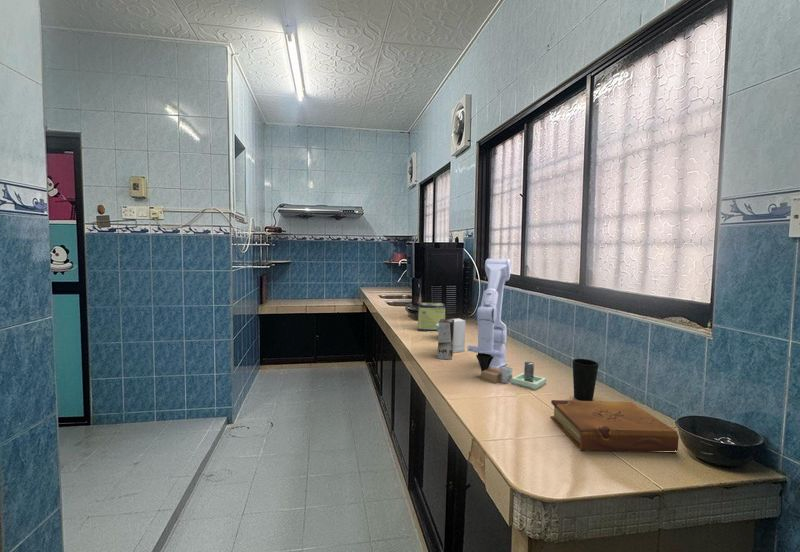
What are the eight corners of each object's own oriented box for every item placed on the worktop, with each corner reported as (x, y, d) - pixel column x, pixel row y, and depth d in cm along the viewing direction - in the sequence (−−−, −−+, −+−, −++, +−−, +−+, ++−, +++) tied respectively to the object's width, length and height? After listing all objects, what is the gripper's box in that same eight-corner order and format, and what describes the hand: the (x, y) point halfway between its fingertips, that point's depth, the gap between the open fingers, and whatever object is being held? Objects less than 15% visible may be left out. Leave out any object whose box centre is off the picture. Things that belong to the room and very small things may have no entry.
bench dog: (504, 379, 143) (504, 366, 143) (511, 381, 141) (512, 367, 141) (499, 381, 140) (499, 368, 140) (506, 383, 138) (507, 370, 138)
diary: (581, 454, 92) (582, 430, 92) (550, 419, 111) (551, 400, 111) (677, 455, 92) (679, 432, 92) (630, 421, 111) (631, 401, 111)
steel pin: (526, 379, 141) (527, 361, 140) (534, 382, 139) (535, 363, 138) (522, 382, 139) (523, 363, 138) (530, 384, 136) (531, 365, 136)
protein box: (445, 332, 224) (445, 305, 223) (418, 331, 224) (418, 304, 223) (443, 328, 234) (444, 303, 233) (417, 327, 234) (418, 302, 233)
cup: (585, 404, 121) (588, 366, 121) (565, 395, 128) (567, 360, 127) (601, 400, 125) (603, 363, 124) (580, 392, 132) (582, 357, 131)
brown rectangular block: (493, 374, 149) (493, 366, 149) (507, 377, 145) (507, 370, 145) (480, 379, 142) (481, 371, 142) (495, 383, 138) (495, 375, 138)
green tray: (522, 377, 145) (522, 372, 145) (546, 383, 139) (546, 378, 139) (511, 383, 139) (511, 378, 138) (535, 390, 133) (536, 384, 132)
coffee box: (452, 360, 167) (453, 322, 166) (437, 358, 168) (438, 321, 167) (453, 354, 176) (454, 319, 175) (439, 353, 177) (440, 318, 176)
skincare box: (457, 348, 187) (459, 318, 186) (465, 351, 181) (466, 320, 180) (443, 350, 183) (444, 319, 182) (450, 353, 178) (451, 321, 177)
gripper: (463, 336, 147) (462, 371, 148) (498, 342, 138) (496, 380, 139) (473, 333, 153) (472, 367, 154) (507, 339, 143) (505, 376, 144)
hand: (484, 373), depth 146 cm, fingers closed
